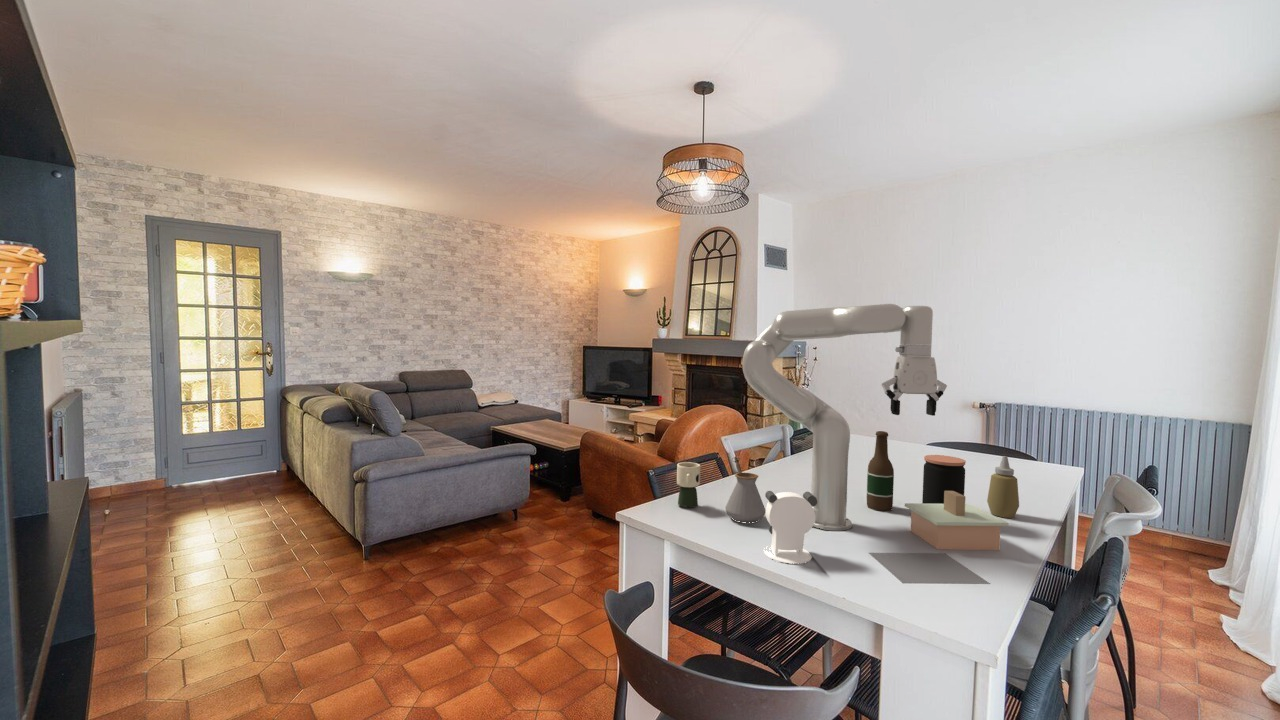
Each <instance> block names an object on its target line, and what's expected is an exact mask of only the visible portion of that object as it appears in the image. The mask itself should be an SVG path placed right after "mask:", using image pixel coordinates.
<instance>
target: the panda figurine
mask: <svg viewBox="0 0 1280 720" xmlns="http://www.w3.org/2000/svg"><path fill="white" fill-rule="evenodd" d="M765 498H766V499H767V500H768V501H767V503H766V507H765V510H766V513H765V517H766V520H767V522H768V523H769V527H768V531H769V533H770V534H771V543H770V545H771V547H770V548H771V549H770V548H769V550H772V553H773V554H774V555H773V554H772V553H771V552H770V551H769V552H768V551H767V550H766V551H765V550H764V549H765V547H766V549H767V547H768V546H769V545H767V546H765V547H764V548H763V549H762V550H763V551H764V553H763V555H764V554H765V555H766V556H768V557H769V558H771V559H774V560H777V561H780V562H784V563H792V564H791V565H794V564H797V565H799V564H798V563H805V562H808V561H810V560H811V559H812V560H813V555H812V554H811V552H810V551H809V550H807V549H805V548H804V542H805V541H804V540H805V535H806V534H807V533H808V532H809V531H810V530H812V528H814V527H813V525H814V523H815V512H814V510H813V507H812V506H816V504H817V499H816V497H815V496H813V495H812V494H811V492H810V491H804V493H803V494H802V495H801V494H799V493H797V492H791V491H785V492H784V491H782V492H781V491H780V492H777V493H774V492H773V491H772V490H767V491H766V492H765ZM778 549H779V550H778ZM778 551H779V553H778ZM765 555H764V556H765ZM766 556H765V557H766ZM769 558H768V559H769ZM771 559H770V560H771ZM812 560H811V561H812ZM811 561H810V562H811ZM784 563H783V564H784ZM793 563H794V564H793ZM808 563H809V562H808ZM805 564H806V563H805Z"/></svg>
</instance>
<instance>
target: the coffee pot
mask: <svg viewBox="0 0 1280 720" xmlns="http://www.w3.org/2000/svg"><path fill="white" fill-rule="evenodd" d="M733 459H734V460H733ZM731 460H732V462H733V463H735V467H736V469H737V472H736V473H735V475H734V477H736V483H735V486H734V488H733V490H732V492H731V495H730V496H729V499H728V500H727V503H726V505H725V507H724V508H725V513H726V514H727V515H728V516H729V517H730V518H731V519H732V518H733V519H734V520H736V521H740V522H746V523H749V522H750V523H751V524H753V523H752V522H756V521H758V520H759V521H760V520H762V519H763V518H764V517H765V516H766V507H765V504H764V503H763V500H762V497H761V495H760V493H759V489H758V487H757V485H756V482H757V480H758V478H759V475H758V474H757V473H753V472H752V473H751V472H742V468H741V464H740V463H739V461H740V459H739V457H737V455H736V456H734V457H732V458H731ZM733 519H732V520H733ZM734 520H733V521H734ZM736 521H735V522H736ZM759 521H758V522H759ZM746 523H745V524H746ZM756 523H757V522H756Z"/></svg>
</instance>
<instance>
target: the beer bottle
mask: <svg viewBox="0 0 1280 720" xmlns="http://www.w3.org/2000/svg"><path fill="white" fill-rule="evenodd" d="M875 435H876V437H875V446H874V454H873V457H871V459H870V461H869V463H868V464H867V477H866V478H867V479H866V480H867V481H866V505H867V508H868V509H871V510H873V511H878V512H889V511H892V510H893V505H894V486H895V485H894V482H895V481H894V480H895V471H894V470H895V469H894V466H893V464H892V462H891V460H890V458H889V453H888V451H889V450H888V446H889V445H888V437H889V433H888V432H887V431H884V430H879V431H878V430H877V431H876V432H875Z"/></svg>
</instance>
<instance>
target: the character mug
mask: <svg viewBox="0 0 1280 720" xmlns="http://www.w3.org/2000/svg"><path fill="white" fill-rule="evenodd" d="M676 485H677V486H680V488H679V492H678V500H677V505H678V506H681V507H686V508H687V507H688V508H695V507H698V506H699V504H698V503H699V502H698V491H697V487H698V486H700V485H701V464H700V463H697V462H690V461H688V462H687V461H683V462H678V463H677V464H676Z"/></svg>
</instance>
